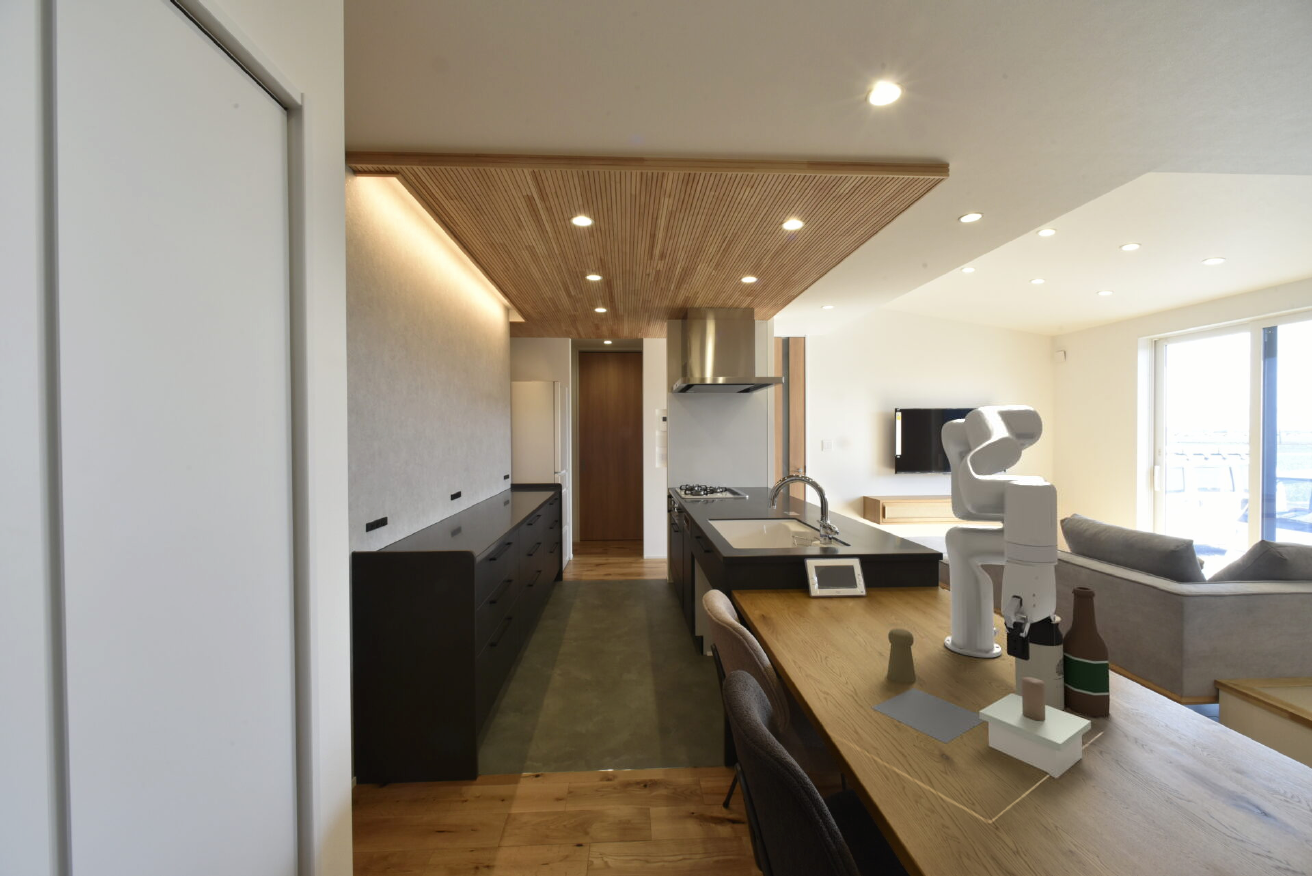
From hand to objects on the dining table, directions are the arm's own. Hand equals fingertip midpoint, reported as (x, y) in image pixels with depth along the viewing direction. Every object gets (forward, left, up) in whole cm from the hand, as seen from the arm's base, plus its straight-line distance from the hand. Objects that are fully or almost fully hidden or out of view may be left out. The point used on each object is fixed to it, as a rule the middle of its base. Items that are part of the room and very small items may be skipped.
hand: (1031, 650), depth 90 cm
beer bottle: (-24, -1, -18) cm, 30 cm away
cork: (-6, -29, -18) cm, 34 cm away
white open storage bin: (+1, 0, -17) cm, 17 cm away
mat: (+4, -17, -17) cm, 24 cm away
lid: (0, 0, -12) cm, 12 cm away
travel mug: (-19, -7, -18) cm, 27 cm away
